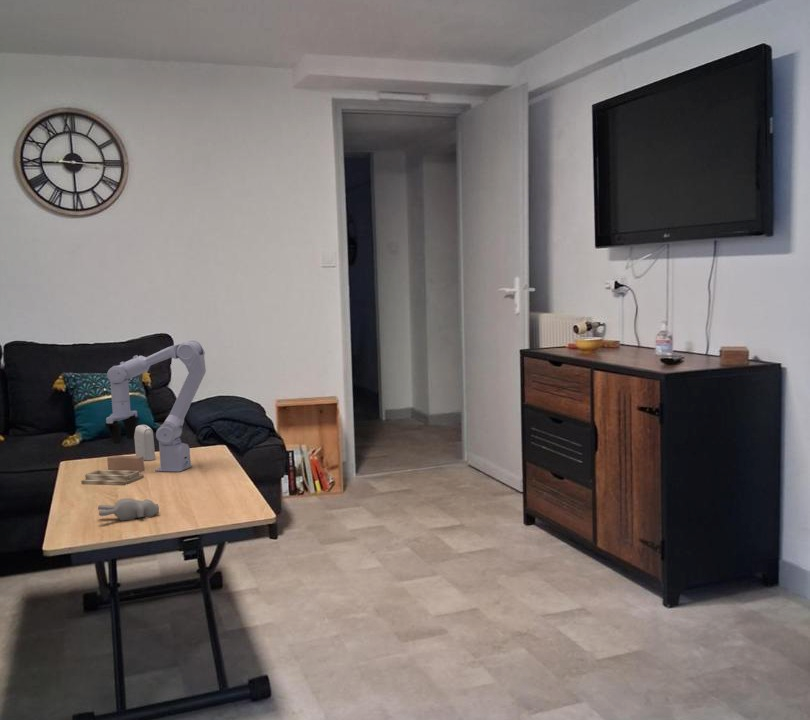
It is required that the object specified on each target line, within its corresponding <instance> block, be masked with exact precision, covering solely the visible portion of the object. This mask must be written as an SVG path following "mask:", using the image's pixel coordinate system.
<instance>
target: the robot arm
mask: <svg viewBox="0 0 810 720" xmlns="http://www.w3.org/2000/svg"><path fill="white" fill-rule="evenodd" d="M205 353H206V352H205V350H204V348H203V346H202V345H201V343H200V342H198V341H196V340H190V341H185V342H182V343H179V344H178V343H177V344H174V345H171V346H168V347H166V348H163V349H161V350H160V351H157V352H155V353H152V354H151V355H148V356H143V355H139V356H138V354H136V355H134V356H132V358H131V359H129V360H127V361H121V362H119V364H118V365H113V366H112V367H110V368H109V369H108V371H107V373H106V377H107V379H108V381H110V394H111V407H112V408H111V409H112V413H111V414H110V415H109V416H108V417H106V418H105V421H106V422H105V423H104V425H105V428H106V429H107V430H108V432H109V434H110V436H111V437H110V438H111V439H112V442H113V444H117V445H118V444H121V441H122V440H121V439H122V435H121V434H122V428H123V426H124V428H125V434H126V438H127V440H135V439H134V434H135V429H136V427H137V426H138V423H139V421H140V417H138V411H137V410H131V400H130V399H131V398H130V397H131V396H130V385H129V379H132V378H134V377H137V376H139V375H142V374H144V373H147V372H148V371H149V369H150V367H151V366H152V365H156V364H158V363H160V362H164V361H165V360H168V359H174V360H178V359H179V360H180V361H181V362H182V364H184V366H185V368H186V370H187V372H188V374H187V376H186V378H185V381H184V382H183V385H182V387H181V389H180V391H179V393H178V395H177V398H176V399H175V402H174V404H173V406H172V408H171V410H170V412H169V414H168V416H167V417H166V419H165V420H164V422H163V423H162V425H160V427H158V428H157V429H156V432H155V437H156V440H157V441H158V448H159V461H160V462H159V463H160V467H159V468H156V469H155V472H182V471H185V470H187V469H189V468H191V467H193V465H192V463H191V462H192V461H191V450H190V449H191V448H190V446H189V444H188V443H185V442H182V440H181V438H180V437H181V436H182V434H183V425H184V423H185V417H186V415H187V413H188V411H189V409H190V407H191V404H192V403H193V400H194V398H195V396H196V395H197V394H196V393H197V392H198V389H199V387H200V385H201V383H202V381H203V379H204V377H205V374H206V371H207V370H206V361H205ZM120 421H122V422H120Z"/></svg>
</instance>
